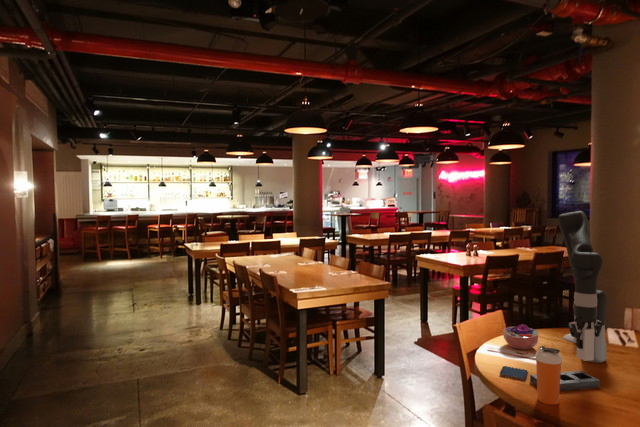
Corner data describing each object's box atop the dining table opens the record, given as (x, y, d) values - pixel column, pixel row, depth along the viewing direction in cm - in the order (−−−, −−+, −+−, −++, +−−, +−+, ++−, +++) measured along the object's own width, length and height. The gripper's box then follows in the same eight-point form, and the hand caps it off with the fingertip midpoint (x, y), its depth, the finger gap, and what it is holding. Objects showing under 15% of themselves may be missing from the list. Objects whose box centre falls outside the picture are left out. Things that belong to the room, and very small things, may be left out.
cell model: (495, 348, 221) (495, 326, 220) (512, 339, 234) (512, 318, 234) (529, 356, 208) (529, 333, 208) (545, 347, 222) (546, 325, 221)
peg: (585, 356, 169) (585, 326, 169) (593, 360, 165) (594, 329, 165) (576, 357, 168) (576, 326, 168) (584, 360, 164) (584, 329, 164)
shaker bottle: (560, 408, 158) (561, 354, 157) (533, 402, 162) (534, 350, 162) (562, 398, 165) (562, 347, 164) (536, 393, 170) (536, 343, 169)
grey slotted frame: (580, 377, 184) (581, 370, 184) (599, 387, 174) (599, 380, 174) (530, 381, 180) (530, 374, 180) (546, 392, 170) (546, 385, 170)
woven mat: (526, 382, 180) (526, 378, 180) (499, 377, 186) (499, 373, 186) (528, 374, 189) (528, 369, 189) (502, 369, 195) (502, 364, 195)
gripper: (593, 300, 171) (593, 343, 171) (562, 302, 168) (561, 346, 169) (609, 305, 163) (609, 349, 164) (576, 307, 161) (576, 352, 162)
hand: (585, 347), depth 167 cm, fingers closed on peg, 4 cm apart
